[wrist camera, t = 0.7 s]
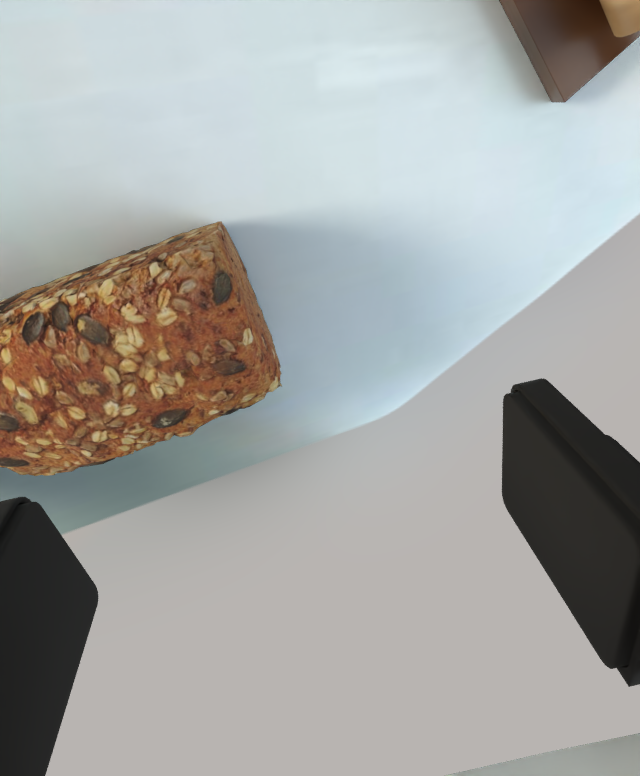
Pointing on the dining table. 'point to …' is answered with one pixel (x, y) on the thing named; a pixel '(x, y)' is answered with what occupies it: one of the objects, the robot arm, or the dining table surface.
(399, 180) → the dining table surface
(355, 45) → the dining table surface
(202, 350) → the bread
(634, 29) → the rolling pin
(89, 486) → the dining table surface
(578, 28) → the pastry board
